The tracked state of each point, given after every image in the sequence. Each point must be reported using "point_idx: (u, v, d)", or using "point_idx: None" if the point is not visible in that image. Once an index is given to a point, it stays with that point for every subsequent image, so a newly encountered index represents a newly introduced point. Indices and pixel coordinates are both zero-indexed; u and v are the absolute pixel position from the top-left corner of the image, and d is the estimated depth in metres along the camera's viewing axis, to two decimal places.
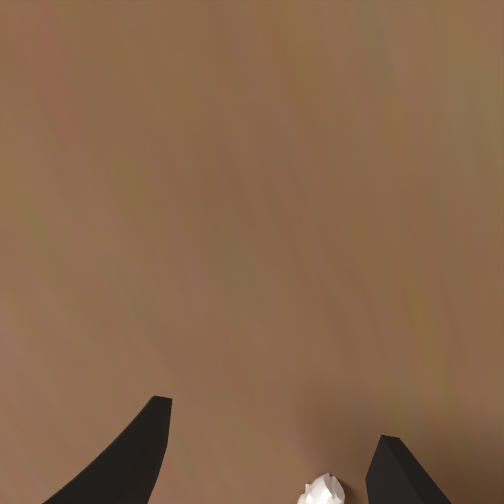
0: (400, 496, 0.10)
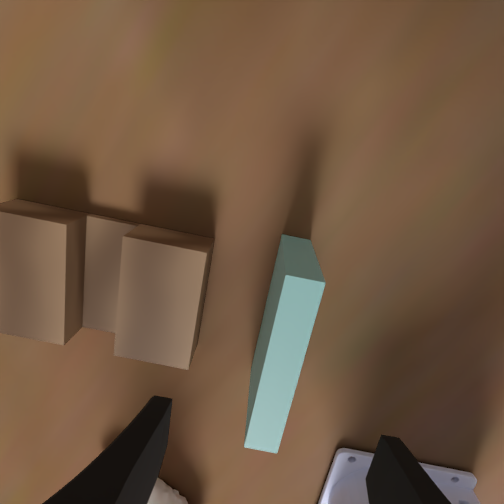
0: (400, 496, 0.10)
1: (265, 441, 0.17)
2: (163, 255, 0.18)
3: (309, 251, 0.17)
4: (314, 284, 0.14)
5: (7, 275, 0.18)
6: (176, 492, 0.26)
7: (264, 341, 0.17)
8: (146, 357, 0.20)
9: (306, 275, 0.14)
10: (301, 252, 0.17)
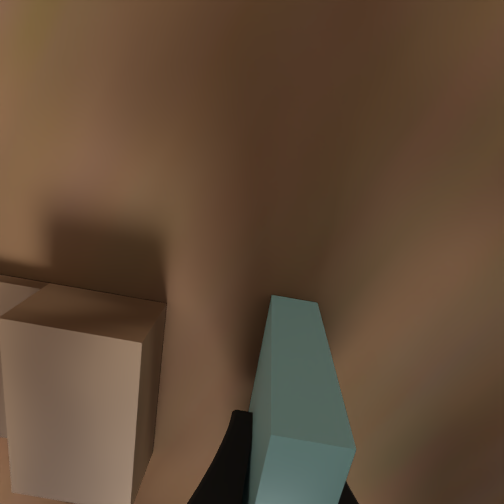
0: None
1: None
2: (70, 347, 0.10)
3: (317, 336, 0.10)
4: (332, 452, 0.07)
5: None
6: None
7: (243, 498, 0.10)
8: (62, 495, 0.12)
9: (316, 424, 0.07)
10: (303, 342, 0.10)
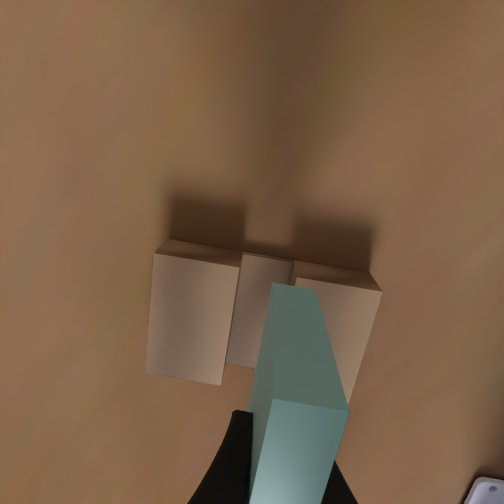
0: None
1: None
2: (336, 295, 0.17)
3: (315, 319, 0.11)
4: (328, 414, 0.07)
5: (171, 318, 0.18)
6: None
7: None
8: None
9: (313, 391, 0.08)
10: (302, 323, 0.10)
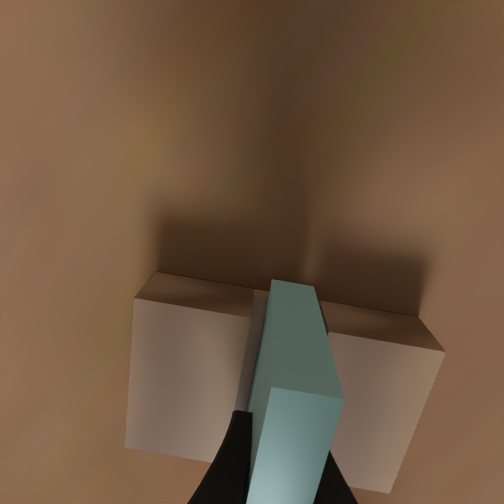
0: None
1: None
2: (383, 355, 0.13)
3: (313, 313, 0.11)
4: (324, 401, 0.08)
5: (158, 381, 0.14)
6: None
7: None
8: None
9: (310, 380, 0.08)
10: (300, 318, 0.11)
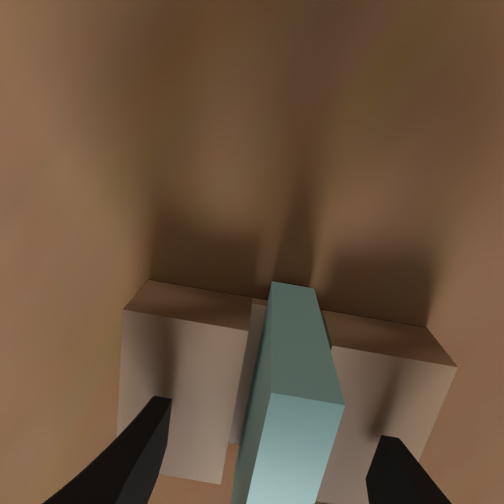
0: (400, 496, 0.10)
1: None
2: (390, 371, 0.12)
3: (313, 316, 0.11)
4: (324, 407, 0.08)
5: (150, 397, 0.13)
6: None
7: (245, 463, 0.11)
8: (337, 499, 0.14)
9: (310, 385, 0.08)
10: (301, 321, 0.11)
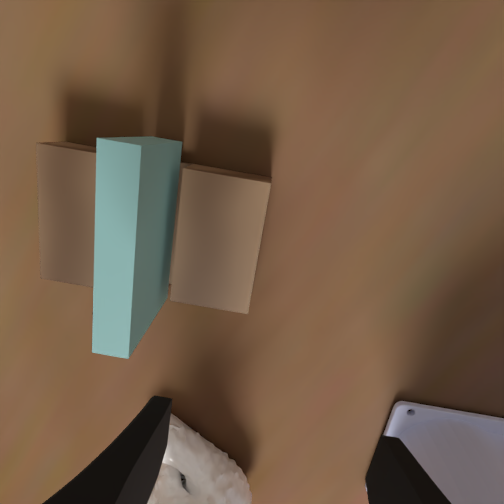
0: (400, 496, 0.10)
1: (113, 344, 0.15)
2: (225, 188, 0.17)
3: (164, 141, 0.16)
4: (129, 148, 0.13)
5: (61, 216, 0.18)
6: (225, 454, 0.25)
7: None
8: (204, 301, 0.19)
9: (126, 141, 0.13)
10: (152, 140, 0.16)
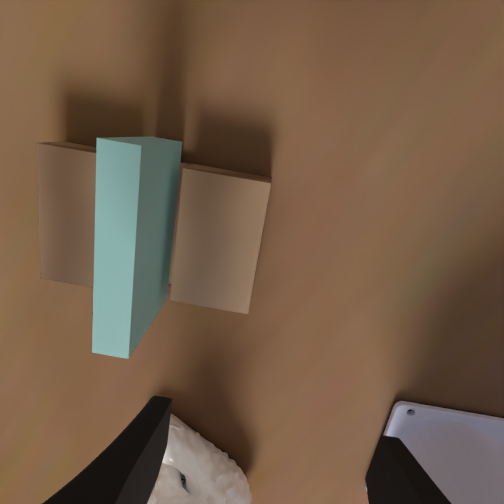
0: (400, 496, 0.10)
1: (113, 344, 0.15)
2: (225, 188, 0.17)
3: (164, 141, 0.16)
4: (129, 148, 0.13)
5: (61, 216, 0.18)
6: (225, 455, 0.25)
7: None
8: (204, 301, 0.19)
9: (126, 141, 0.13)
10: (152, 140, 0.16)
